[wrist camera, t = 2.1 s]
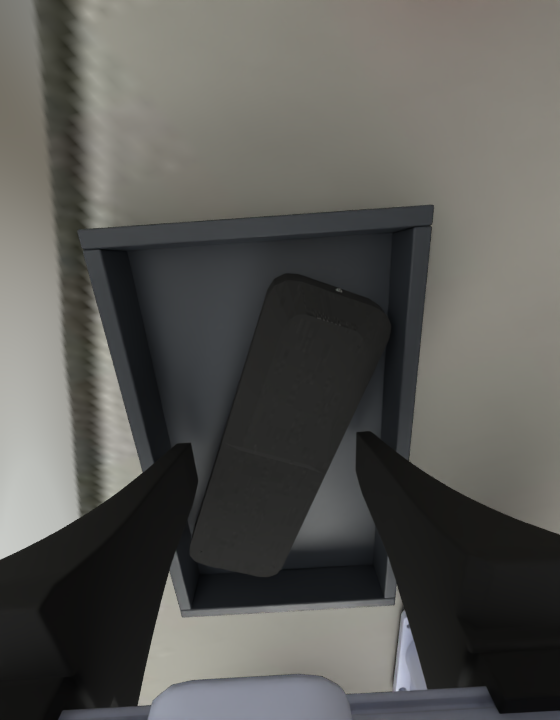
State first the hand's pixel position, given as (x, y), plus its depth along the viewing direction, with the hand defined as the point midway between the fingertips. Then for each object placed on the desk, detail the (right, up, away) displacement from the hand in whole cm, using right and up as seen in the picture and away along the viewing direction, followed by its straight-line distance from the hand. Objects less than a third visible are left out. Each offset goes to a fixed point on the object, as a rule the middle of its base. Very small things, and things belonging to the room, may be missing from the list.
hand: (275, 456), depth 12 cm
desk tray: (0, 0, +1) cm, 2 cm away
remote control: (0, 0, +1) cm, 2 cm away
